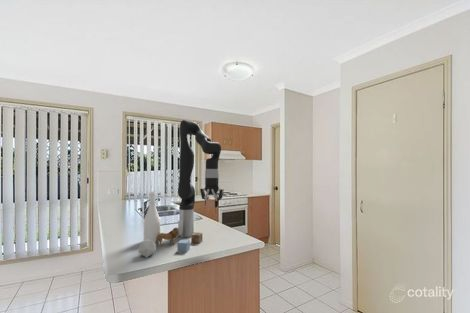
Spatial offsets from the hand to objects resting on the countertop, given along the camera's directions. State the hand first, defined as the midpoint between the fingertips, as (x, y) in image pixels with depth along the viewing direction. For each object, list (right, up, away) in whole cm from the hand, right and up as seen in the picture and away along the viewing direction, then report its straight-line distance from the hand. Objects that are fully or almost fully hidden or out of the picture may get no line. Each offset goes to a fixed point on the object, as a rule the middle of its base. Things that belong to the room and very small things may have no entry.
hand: (211, 206), depth 135 cm
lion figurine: (-26, -23, +4) cm, 35 cm away
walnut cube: (-10, -23, +8) cm, 26 cm away
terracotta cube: (0, 0, 0) cm, 0 cm away
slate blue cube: (-15, -22, -6) cm, 27 cm away
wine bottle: (-37, -23, +9) cm, 44 cm away
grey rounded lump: (-32, -22, -13) cm, 41 cm away
